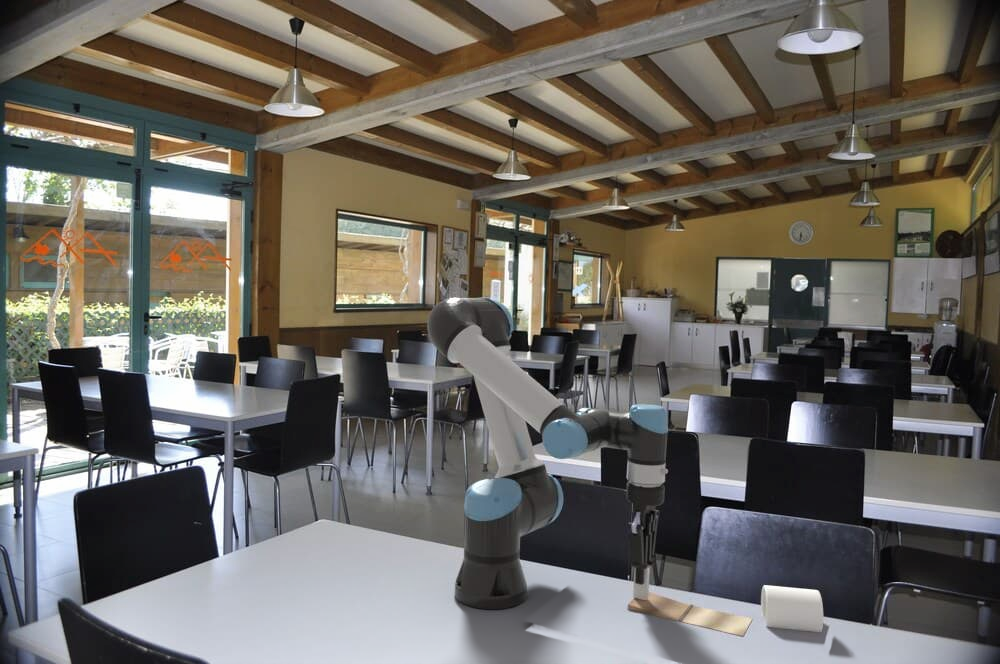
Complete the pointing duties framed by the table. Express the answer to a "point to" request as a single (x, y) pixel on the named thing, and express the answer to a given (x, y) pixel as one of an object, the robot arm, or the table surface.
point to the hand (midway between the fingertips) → (640, 597)
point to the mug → (792, 608)
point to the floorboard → (715, 620)
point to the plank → (659, 606)
